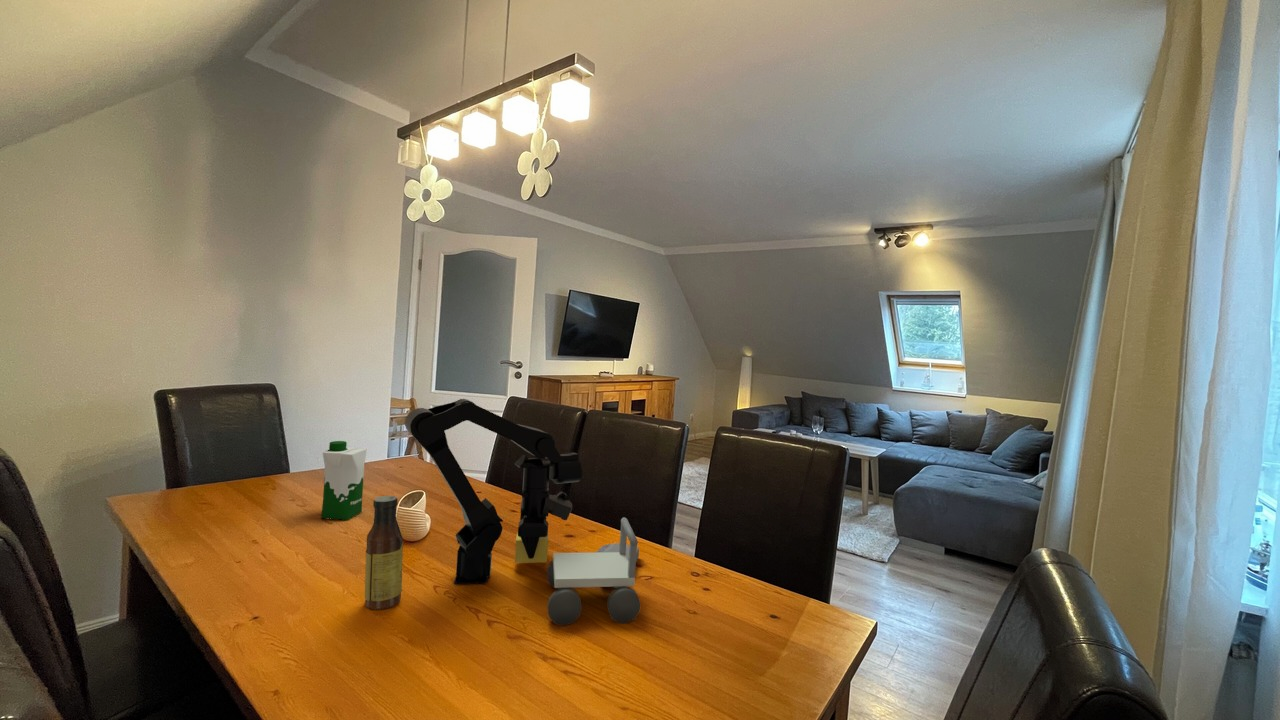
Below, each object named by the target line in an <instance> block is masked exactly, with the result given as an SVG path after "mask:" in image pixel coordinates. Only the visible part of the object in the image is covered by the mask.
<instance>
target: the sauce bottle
mask: <svg viewBox="0 0 1280 720" xmlns="http://www.w3.org/2000/svg"><path fill="white" fill-rule="evenodd" d="M398 504H399V503H398V497H397V496H395V495H382V496H377V497H375V498H374V499H373V505H372V506H373V508H374V511H373V513H374V515H373V516H374V519H373V523H372V526H371V529H370V530H369V532H367V535H366V550H365V576H364V577H365V578H364V600H365V601H364V604H365V606H366V607H367V608H369V609H371V610H376V611H377V610H386V609H390V608H392V607H394V606H396V605H397V604H399V602H400V601H401V598H402V592H403V565H404V564H403V559H404V558H403V557H404V556H403V555H404V553H403V551H404V550H403V549H404V540H403V539H404V538H403V534H402V531H401V529H400V527H399V522H398V520H397V506H398Z"/></svg>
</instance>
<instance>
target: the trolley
mask: <svg viewBox="0 0 1280 720" xmlns="http://www.w3.org/2000/svg"><path fill="white" fill-rule="evenodd" d="M634 532H635V531H633V528H632V527H631V525H630V522H629V520H628V518H626V517H622V518H621V519H620V534H619V535H620V536H619V544H620V547H619V552H597V551H596V552H597V553H596V552H553V557H552V560H551V561H550V562H549V563H548V564H547V565H548V566H547V569H546V578H547V581H548V583H549V585H550V586H552V587H553V588H555V589H556V590H555V591H554V592H553V593H551V595H550V596H549V598H548V602H547V614H548V617H549V619H550V620H551V621H552V622H553V623H554V624H556V625H558V626H568V625H570V624H572V623H574V622H575V621H576V620H577V619H578V618H580V615H581V613H582V602H581V597H580V595H579V593H578V592H577V590H575V589H573V588H600V587H601V588H602V587H603V588H604V587H605V588H606V587H607V588H612V589H613V588H614V589H613V590H612V591H611V592H610V593H609V595H608V597H607V599H606V600H607V601H606V607H607V610H608V613H609V617H610V618H611V620H613V621H615V623H619V624H627V623H630V622H632V621H633V620H635V619H636V618H637V616H638V615H639V613H640V611H641V600H640V598H639V596H638V593H637V592H636V591H635V589H633V588H632V587H635V582H636V578H635V577H636V569H637V567H636V565H637V564H636V563H637V562H636V554H637V547H638V543H639V542H638V538H637V537H636V535H635V533H634ZM627 540H628V541H629V545H630V547H629V562H628V559H627V557H626V545H627Z"/></svg>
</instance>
